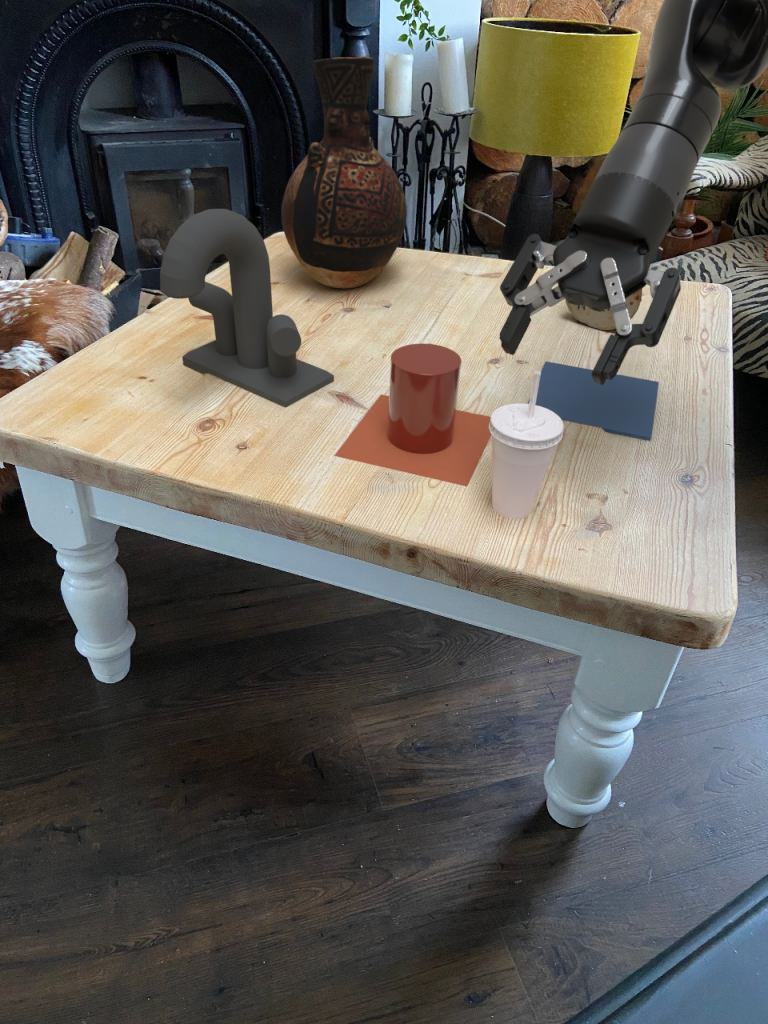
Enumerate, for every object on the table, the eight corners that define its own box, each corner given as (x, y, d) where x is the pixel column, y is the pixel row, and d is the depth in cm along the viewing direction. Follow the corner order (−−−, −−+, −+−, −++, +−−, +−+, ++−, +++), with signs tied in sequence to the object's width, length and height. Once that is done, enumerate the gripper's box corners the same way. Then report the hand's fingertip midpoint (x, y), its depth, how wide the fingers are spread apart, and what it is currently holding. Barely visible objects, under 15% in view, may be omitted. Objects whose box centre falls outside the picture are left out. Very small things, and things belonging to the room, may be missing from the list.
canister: (438, 415, 83) (445, 340, 77) (463, 448, 77) (472, 370, 72) (378, 424, 81) (381, 347, 75) (400, 458, 75) (404, 378, 70)
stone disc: (637, 330, 104) (655, 259, 98) (627, 339, 102) (645, 266, 95) (568, 311, 109) (582, 242, 103) (557, 319, 106) (570, 249, 100)
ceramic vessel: (354, 314, 105) (356, 69, 87) (257, 287, 112) (240, 55, 94) (426, 272, 119) (441, 55, 101) (337, 250, 126) (335, 43, 108)
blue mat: (544, 363, 95) (545, 361, 94) (658, 384, 91) (658, 381, 91) (523, 415, 84) (523, 411, 84) (650, 440, 81) (651, 437, 80)
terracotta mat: (380, 397, 86) (380, 394, 86) (498, 421, 83) (499, 418, 83) (334, 458, 76) (333, 455, 75) (466, 489, 72) (467, 486, 72)
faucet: (130, 385, 87) (95, 206, 74) (230, 341, 97) (213, 177, 84) (239, 438, 78) (220, 246, 66) (336, 384, 88) (335, 209, 76)
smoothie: (556, 504, 71) (585, 371, 62) (529, 540, 66) (556, 401, 58) (495, 482, 73) (515, 351, 65) (465, 514, 69) (483, 379, 60)
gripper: (550, 155, 64) (466, 322, 63) (717, 186, 57) (624, 373, 57) (566, 207, 70) (490, 359, 70) (717, 240, 64) (634, 408, 63)
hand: (550, 365), depth 63 cm, fingers open, 8 cm apart
